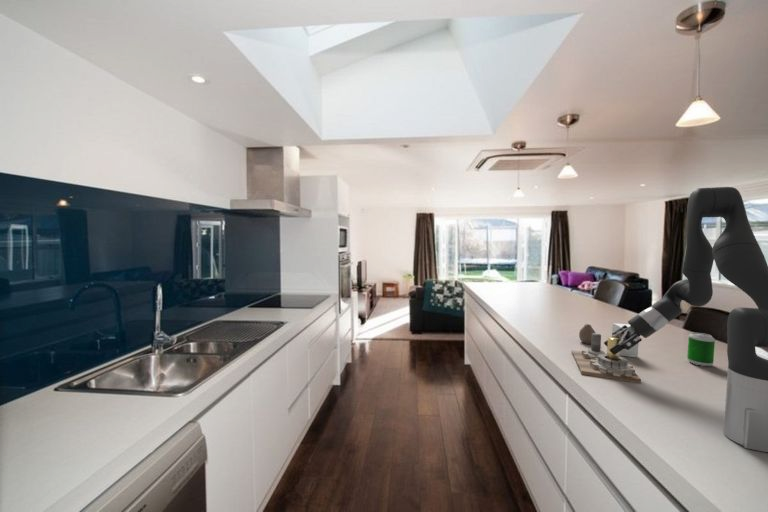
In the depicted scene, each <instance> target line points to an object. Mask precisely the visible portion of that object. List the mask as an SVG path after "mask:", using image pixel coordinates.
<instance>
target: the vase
mask: <svg viewBox="0 0 768 512" xmlns="http://www.w3.org/2000/svg"><path fill="white" fill-rule="evenodd" d="M592 333H596V331H595V329H593V327H592V325H591V324H588V323H587V324H584V326H583V327H582V328H581V329H580V330H579V334H578V338H579V340H580V341H581V342H582V344H586V345H591V341H592Z"/></svg>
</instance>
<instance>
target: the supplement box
mask: <svg viewBox="0 0 768 512" xmlns="http://www.w3.org/2000/svg"><path fill="white" fill-rule="evenodd" d="M624 325H626V326H627V327H630V326H631V325H630V324H629V323H627V324H626V323H614V322H613V323H612V327H611V329H612V330H611V334H612V333H614V332H615V331H617V330H618V329H620V328H621V327H623V326H624ZM619 342H620V341H619ZM638 355H639V343H637V344H636V345H635V346H633V347H632V348H630V349H629V350H627V349H623V350H621V351H620V352H619V356H621V357H631V358H638Z"/></svg>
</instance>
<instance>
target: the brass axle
mask: <svg viewBox="0 0 768 512" xmlns="http://www.w3.org/2000/svg"><path fill="white" fill-rule="evenodd" d="M607 340H608V344H607V346H606V348H607V350H606V354H607V359H610V360H615V361H619V352H618V353H617V354H615V355H614V354H612V353H611V352H610V349H611V348H612V347H614V346H615V345H617V344H618V345H619V341H620V339H618V338H615V337H612V336H608V337H607Z"/></svg>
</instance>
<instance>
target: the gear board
mask: <svg viewBox="0 0 768 512" xmlns="http://www.w3.org/2000/svg"><path fill="white" fill-rule="evenodd" d="M601 344H602V334H600V333H596V332H595V333H592V341H591V344H590V348H588V349H587V350H585V349H582V350H574V349H572V350H571V355H572V357H573V359H574V361H576V362H575V364H576V365H577V368H578V370H579V373H580V374H581V375H586V376H592V377H598V378H605V379H613V380H620V381H624V382H625V381H626V382H631V381H632V382H633V383H638V382H639V384H642V379H641V378H640V377H639V375H638V374H637V373H636V368H635V367H634V366H633V365H631V364H629V361H628V360H627V359H626V358H625V357H624V356H619V361H615V360H610V359H607V353H605V351H603V350H602V349H601V347H602V346H601Z"/></svg>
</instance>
